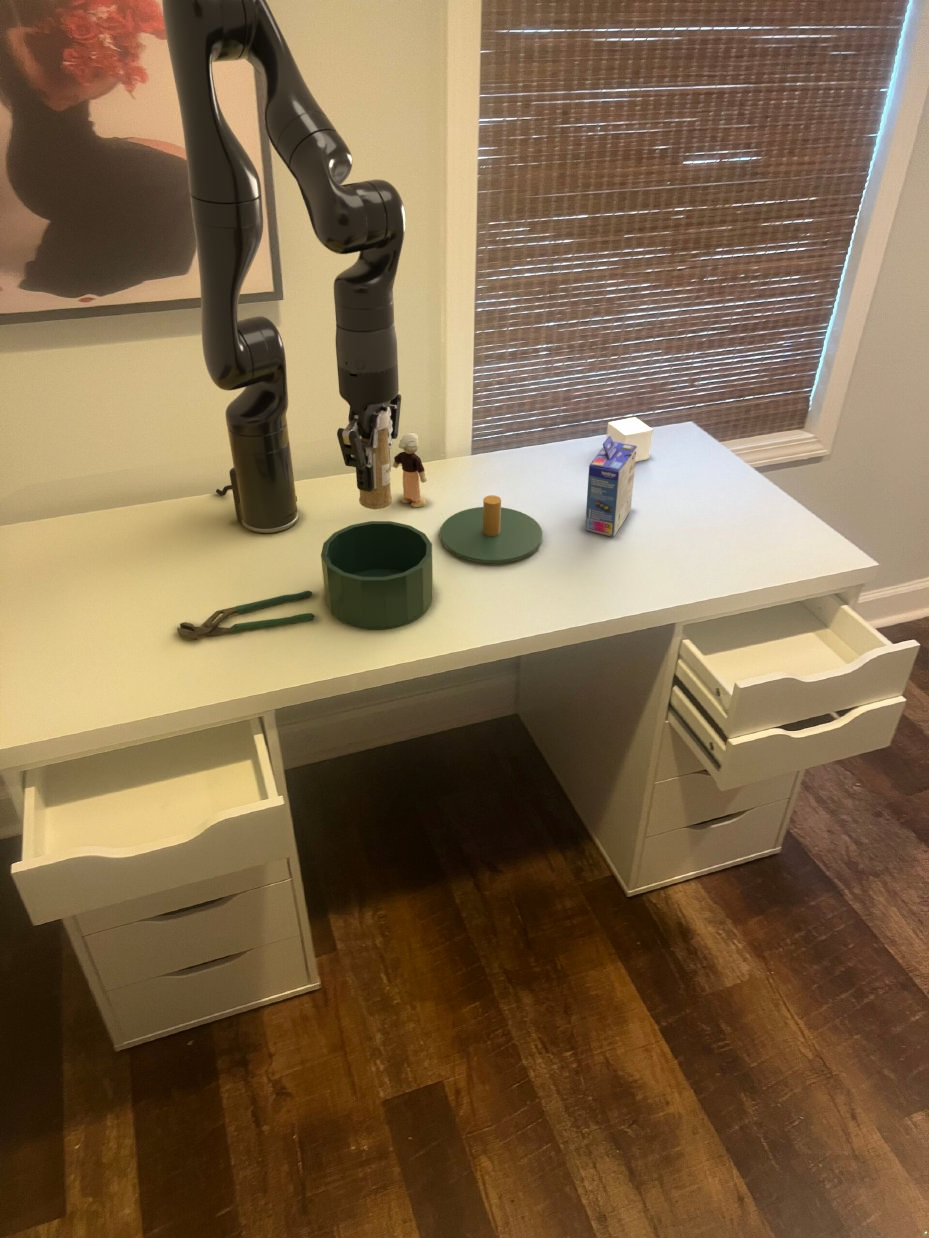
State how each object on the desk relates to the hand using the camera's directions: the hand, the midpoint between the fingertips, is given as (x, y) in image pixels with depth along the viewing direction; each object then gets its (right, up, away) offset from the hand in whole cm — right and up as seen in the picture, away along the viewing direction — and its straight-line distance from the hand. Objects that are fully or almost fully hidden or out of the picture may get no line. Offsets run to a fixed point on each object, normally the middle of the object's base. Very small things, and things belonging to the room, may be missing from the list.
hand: (374, 480), depth 122 cm
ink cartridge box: (+36, -2, +30) cm, 47 cm away
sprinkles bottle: (0, -3, +2) cm, 3 cm away
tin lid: (+17, -5, +25) cm, 30 cm away
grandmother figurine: (+3, +2, +35) cm, 35 cm away
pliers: (-19, -19, +7) cm, 28 cm away
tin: (0, -16, +11) cm, 19 cm away
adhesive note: (+43, +12, +49) cm, 67 cm away
